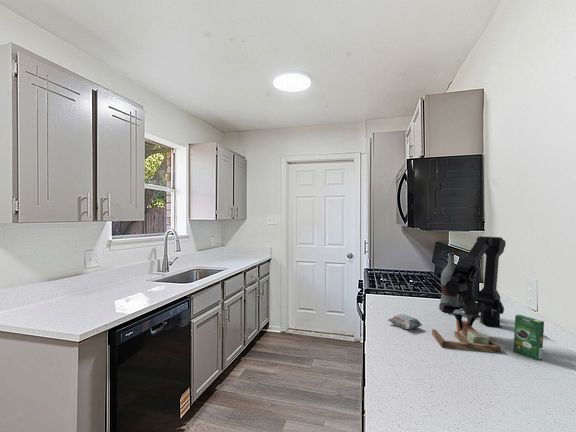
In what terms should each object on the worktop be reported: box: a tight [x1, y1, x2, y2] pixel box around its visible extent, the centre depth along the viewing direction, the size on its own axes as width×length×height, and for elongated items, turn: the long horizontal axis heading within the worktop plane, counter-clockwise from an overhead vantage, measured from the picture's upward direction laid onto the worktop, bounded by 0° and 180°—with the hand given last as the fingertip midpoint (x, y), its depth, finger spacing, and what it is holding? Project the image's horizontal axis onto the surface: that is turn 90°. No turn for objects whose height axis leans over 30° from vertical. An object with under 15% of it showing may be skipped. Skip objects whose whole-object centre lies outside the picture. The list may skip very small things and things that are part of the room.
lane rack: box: [431, 329, 502, 354], centre depth 118 cm, size 20×13×2 cm, turn 80°
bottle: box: [439, 252, 458, 315], centre depth 158 cm, size 9×9×30 cm
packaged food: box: [386, 313, 423, 330], centre depth 134 cm, size 9×12×5 cm
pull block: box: [455, 319, 490, 344], centre depth 123 cm, size 5×20×4 cm, turn 170°
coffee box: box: [513, 314, 545, 361], centre depth 108 cm, size 8×3×13 cm, turn 25°
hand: (464, 330), depth 128 cm, fingers closed on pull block, 2 cm apart
